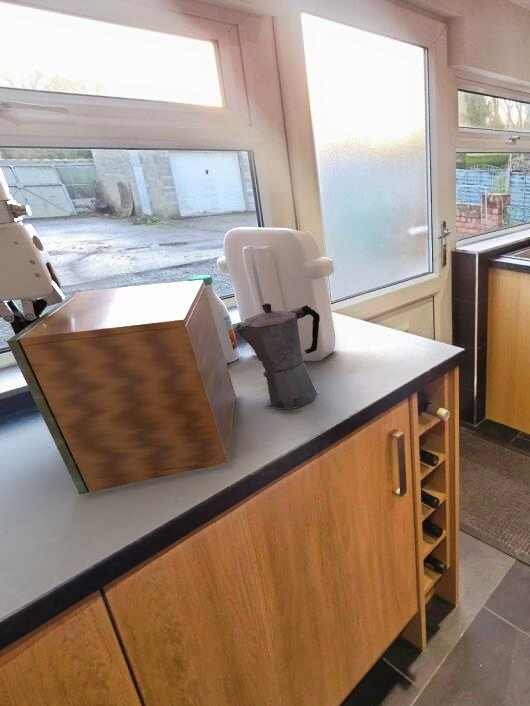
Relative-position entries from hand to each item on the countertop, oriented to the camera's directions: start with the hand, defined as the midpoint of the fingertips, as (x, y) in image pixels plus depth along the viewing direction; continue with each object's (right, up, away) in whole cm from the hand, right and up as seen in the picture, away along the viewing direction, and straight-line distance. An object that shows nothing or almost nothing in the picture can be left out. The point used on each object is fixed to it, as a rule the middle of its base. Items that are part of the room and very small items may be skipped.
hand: (35, 344), depth 74 cm
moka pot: (+28, -9, +26) cm, 39 cm away
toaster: (+17, +1, +47) cm, 50 cm away
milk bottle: (+2, 0, +45) cm, 45 cm away
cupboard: (+12, -15, +13) cm, 23 cm away
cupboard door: (+1, -17, +8) cm, 19 cm away
